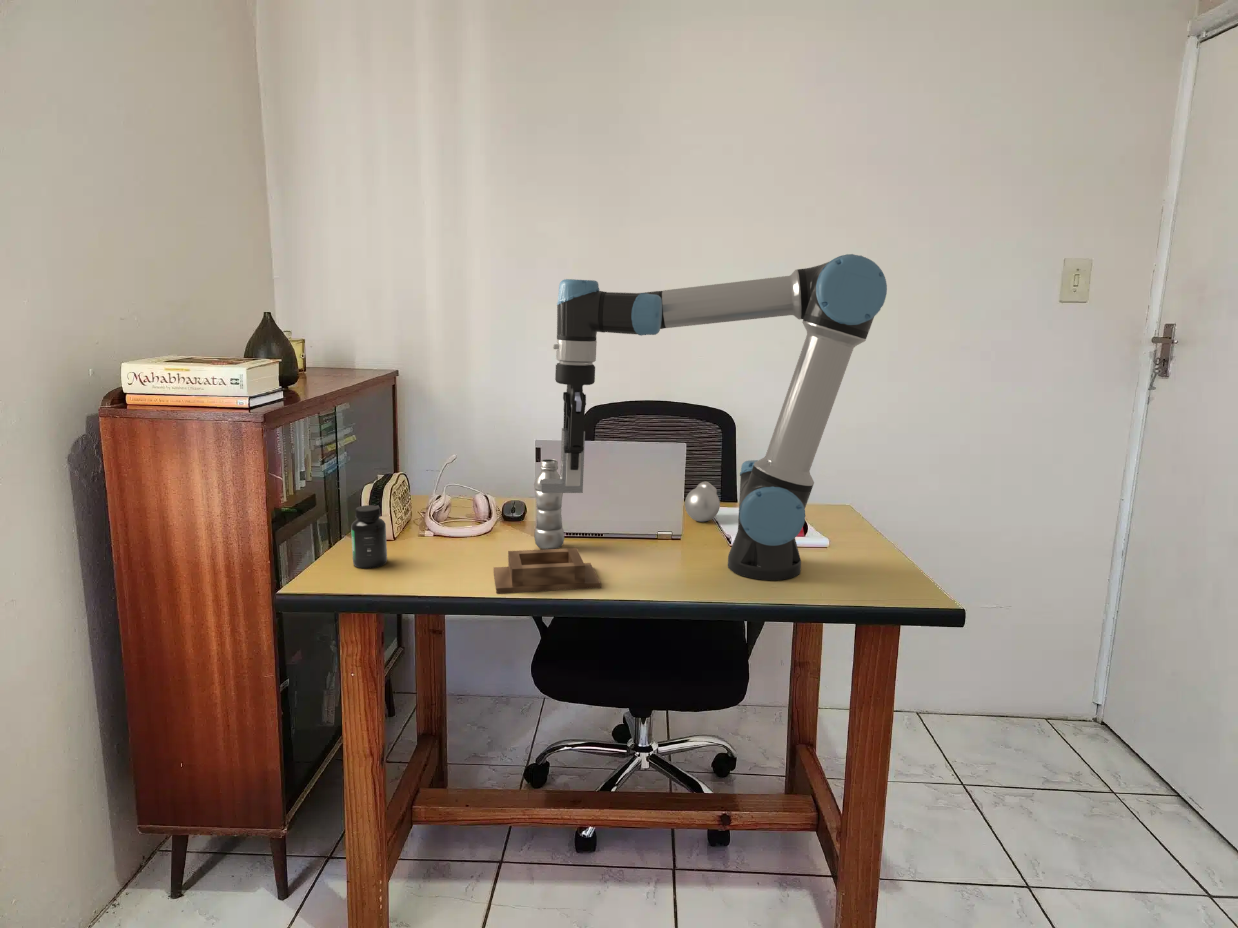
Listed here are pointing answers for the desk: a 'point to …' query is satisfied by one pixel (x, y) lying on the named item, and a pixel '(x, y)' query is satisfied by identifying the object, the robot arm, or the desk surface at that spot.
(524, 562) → the well
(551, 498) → the plastic bottle
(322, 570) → the desk surface
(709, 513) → the silver pear shape
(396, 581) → the desk surface
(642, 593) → the desk surface
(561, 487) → the bracket
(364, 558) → the supplement bottle
